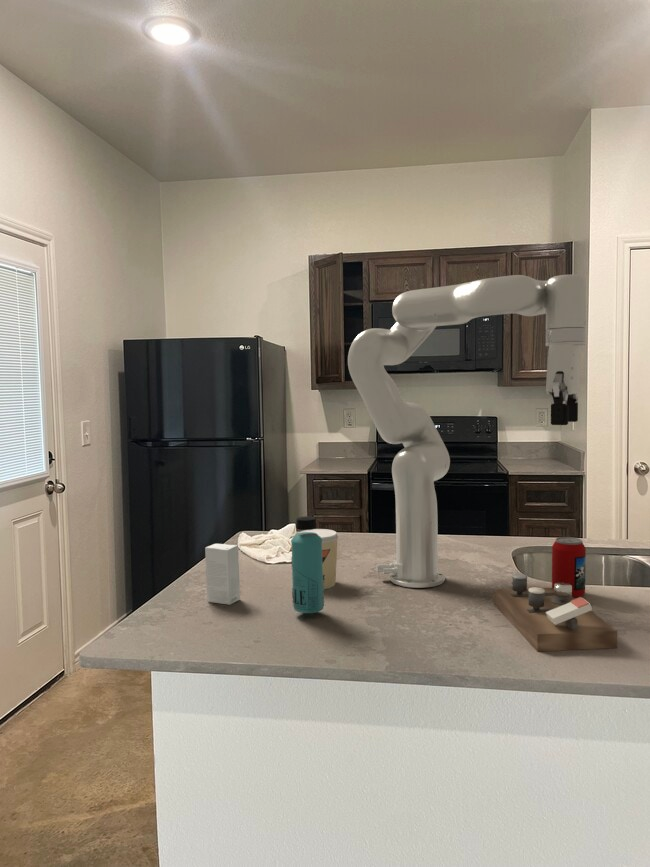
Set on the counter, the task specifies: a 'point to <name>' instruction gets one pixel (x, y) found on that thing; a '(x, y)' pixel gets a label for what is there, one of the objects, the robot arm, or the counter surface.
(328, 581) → the coffee cup
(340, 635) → the counter surface
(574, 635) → the console
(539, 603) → the lever ivory
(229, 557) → the skincare box
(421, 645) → the counter surface
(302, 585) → the beverage bottle
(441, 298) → the robot arm
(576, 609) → the block
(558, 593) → the button
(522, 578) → the lever grey
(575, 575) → the beverage can
